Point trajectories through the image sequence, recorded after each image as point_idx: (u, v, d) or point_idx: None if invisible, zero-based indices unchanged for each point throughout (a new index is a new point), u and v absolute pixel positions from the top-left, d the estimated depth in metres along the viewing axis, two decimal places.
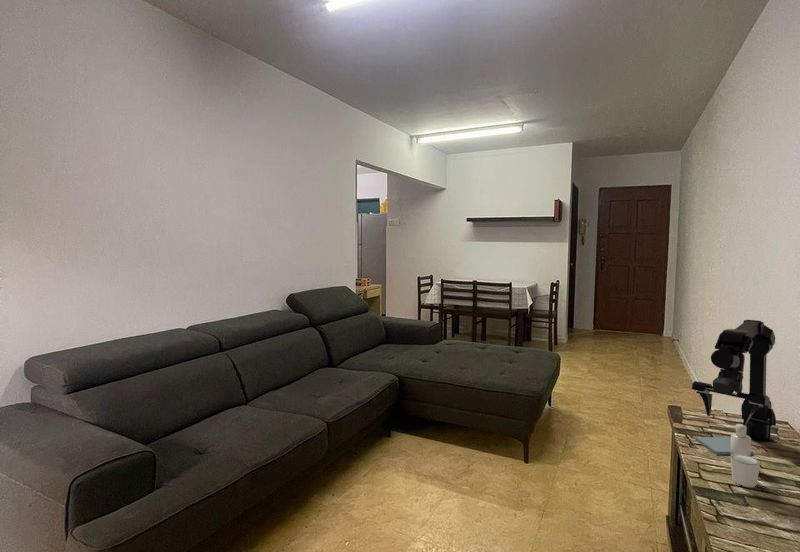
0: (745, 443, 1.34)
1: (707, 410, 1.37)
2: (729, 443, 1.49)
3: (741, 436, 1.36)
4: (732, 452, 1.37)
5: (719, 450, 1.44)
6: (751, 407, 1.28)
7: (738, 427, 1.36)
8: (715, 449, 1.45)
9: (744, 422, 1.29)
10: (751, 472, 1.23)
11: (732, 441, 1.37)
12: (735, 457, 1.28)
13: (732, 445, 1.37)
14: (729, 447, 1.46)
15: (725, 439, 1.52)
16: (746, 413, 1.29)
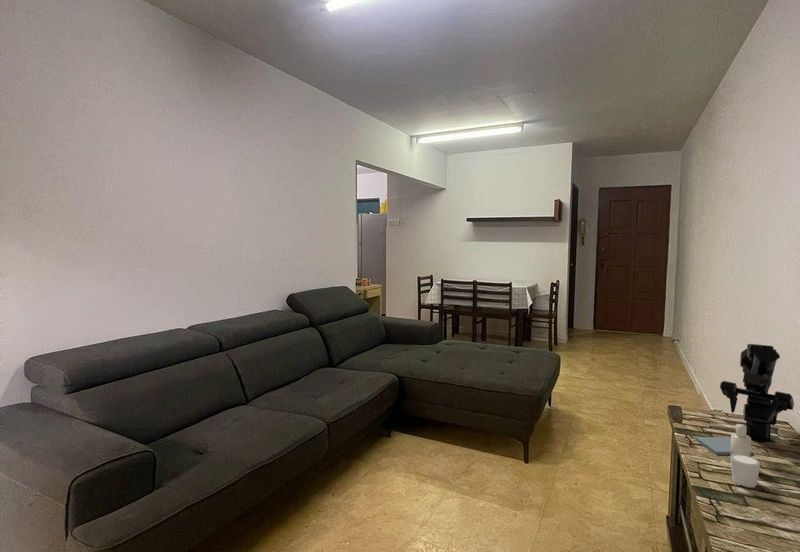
0: (745, 443, 1.34)
1: (732, 406, 1.45)
2: (729, 443, 1.49)
3: (741, 436, 1.36)
4: (732, 452, 1.37)
5: (719, 450, 1.44)
6: (777, 403, 1.37)
7: (738, 427, 1.36)
8: (715, 449, 1.45)
9: (767, 417, 1.37)
10: (751, 472, 1.23)
11: (732, 441, 1.37)
12: (735, 457, 1.28)
13: (732, 445, 1.37)
14: (729, 447, 1.46)
15: (725, 439, 1.52)
16: (771, 409, 1.38)
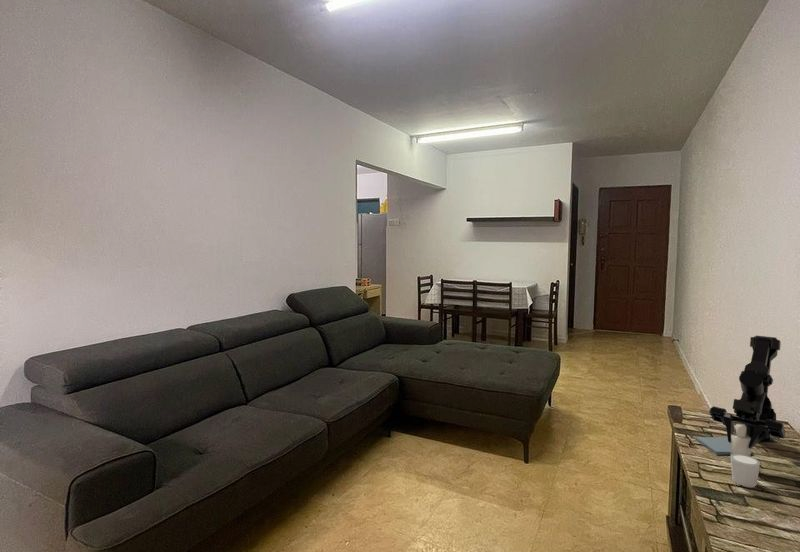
0: (745, 443, 1.34)
1: (728, 435, 1.39)
2: (729, 443, 1.49)
3: (741, 436, 1.36)
4: (732, 452, 1.37)
5: (719, 450, 1.44)
6: (759, 430, 1.34)
7: (738, 427, 1.36)
8: (715, 449, 1.45)
9: (750, 444, 1.34)
10: (751, 472, 1.23)
11: (732, 441, 1.37)
12: (735, 457, 1.28)
13: (731, 445, 1.37)
14: (729, 447, 1.46)
15: (725, 439, 1.52)
16: (753, 436, 1.34)
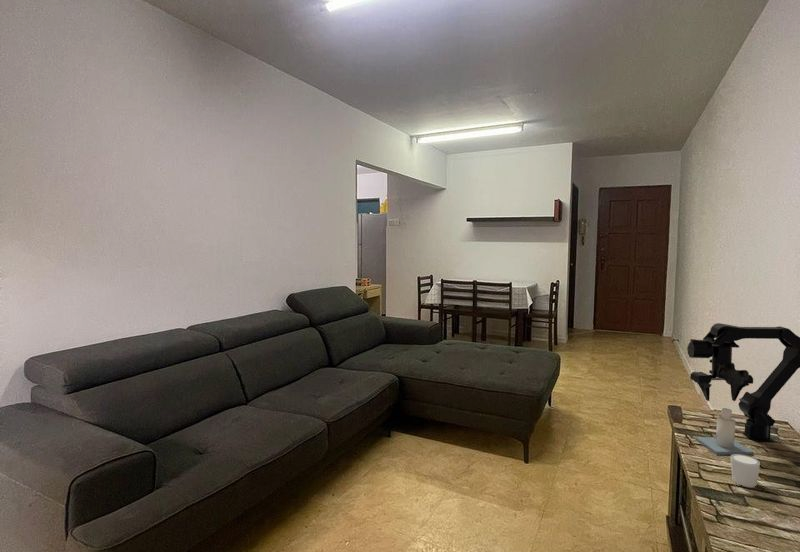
0: (730, 425, 1.45)
1: (708, 396, 1.56)
2: None
3: (726, 419, 1.46)
4: (717, 434, 1.48)
5: (719, 450, 1.44)
6: (743, 386, 1.54)
7: (724, 411, 1.47)
8: (715, 449, 1.45)
9: (735, 398, 1.56)
10: (751, 472, 1.23)
11: (718, 423, 1.48)
12: (735, 457, 1.28)
13: (717, 428, 1.48)
14: None
15: None
16: (737, 391, 1.55)
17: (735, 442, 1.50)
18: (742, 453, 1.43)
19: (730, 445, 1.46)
